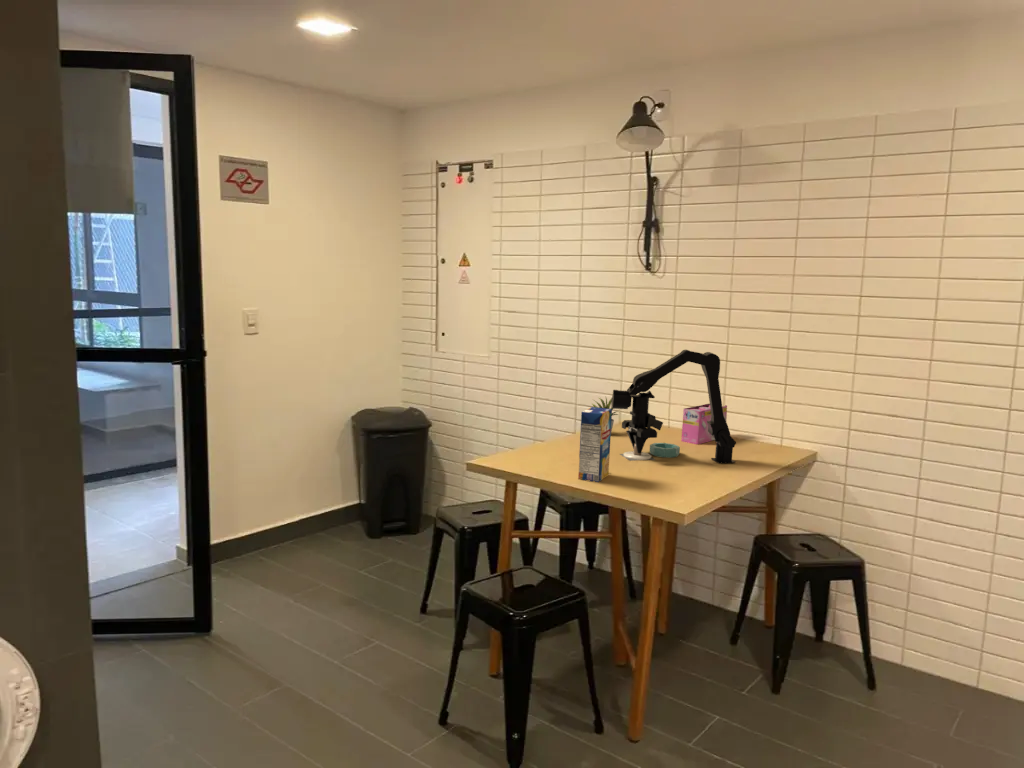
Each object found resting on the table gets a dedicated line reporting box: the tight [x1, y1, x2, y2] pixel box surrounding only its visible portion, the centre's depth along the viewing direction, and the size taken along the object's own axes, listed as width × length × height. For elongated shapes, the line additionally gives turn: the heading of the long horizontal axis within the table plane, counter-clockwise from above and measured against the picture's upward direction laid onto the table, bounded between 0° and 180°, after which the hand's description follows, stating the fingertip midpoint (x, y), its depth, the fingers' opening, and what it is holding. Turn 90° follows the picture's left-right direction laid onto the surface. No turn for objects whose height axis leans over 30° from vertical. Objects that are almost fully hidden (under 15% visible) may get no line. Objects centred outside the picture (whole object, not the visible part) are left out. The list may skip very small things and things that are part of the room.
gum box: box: [681, 403, 728, 445], centre depth 313 cm, size 24×8×14 cm, turn 136°
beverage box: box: [577, 406, 613, 483], centre depth 246 cm, size 7×11×22 cm, turn 156°
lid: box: [622, 443, 652, 461], centre depth 276 cm, size 10×10×5 cm
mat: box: [619, 453, 656, 462], centre depth 276 cm, size 10×10×1 cm
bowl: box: [649, 442, 681, 458], centre depth 281 cm, size 10×10×4 cm
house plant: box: [591, 396, 621, 433], centre depth 315 cm, size 14×14×16 cm
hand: (637, 452), depth 276 cm, fingers closed on lid, 3 cm apart
